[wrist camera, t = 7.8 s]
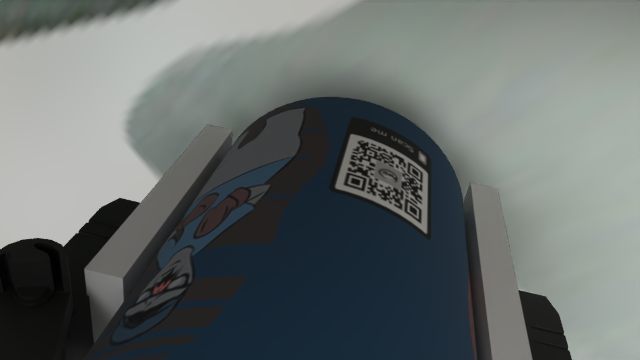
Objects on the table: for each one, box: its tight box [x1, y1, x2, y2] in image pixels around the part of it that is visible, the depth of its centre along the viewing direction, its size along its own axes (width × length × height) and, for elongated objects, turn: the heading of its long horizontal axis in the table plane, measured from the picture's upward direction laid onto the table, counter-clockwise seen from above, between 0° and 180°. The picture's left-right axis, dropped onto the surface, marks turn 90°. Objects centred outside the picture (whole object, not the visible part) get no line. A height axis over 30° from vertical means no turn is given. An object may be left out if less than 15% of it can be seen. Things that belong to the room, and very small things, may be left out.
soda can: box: [83, 97, 477, 360], centre depth 11 cm, size 7×7×12 cm
